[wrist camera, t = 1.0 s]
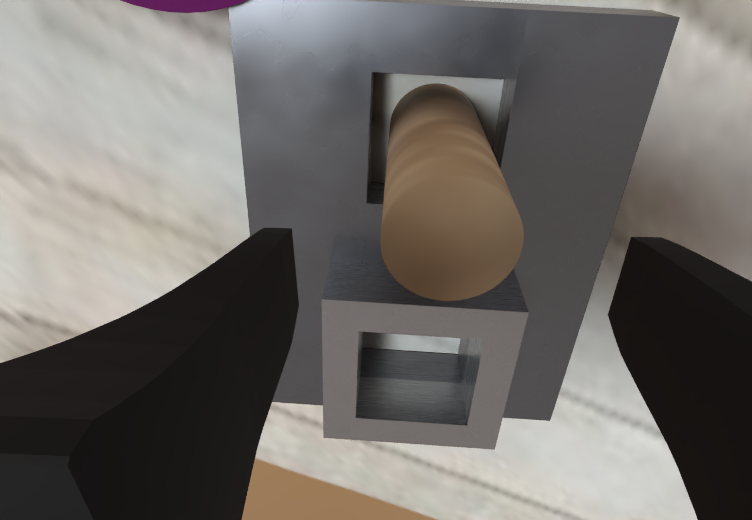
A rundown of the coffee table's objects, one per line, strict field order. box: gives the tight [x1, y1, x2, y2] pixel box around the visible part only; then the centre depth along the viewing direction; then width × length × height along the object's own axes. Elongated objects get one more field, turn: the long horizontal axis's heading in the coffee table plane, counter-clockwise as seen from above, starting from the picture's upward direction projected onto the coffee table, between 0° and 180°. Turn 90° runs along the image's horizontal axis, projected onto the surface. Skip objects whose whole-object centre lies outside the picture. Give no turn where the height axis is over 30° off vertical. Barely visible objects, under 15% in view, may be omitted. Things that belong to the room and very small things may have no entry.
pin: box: [380, 84, 524, 301], centre depth 16 cm, size 3×3×9 cm
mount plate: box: [228, 0, 679, 449], centre depth 20 cm, size 14×18×4 cm
